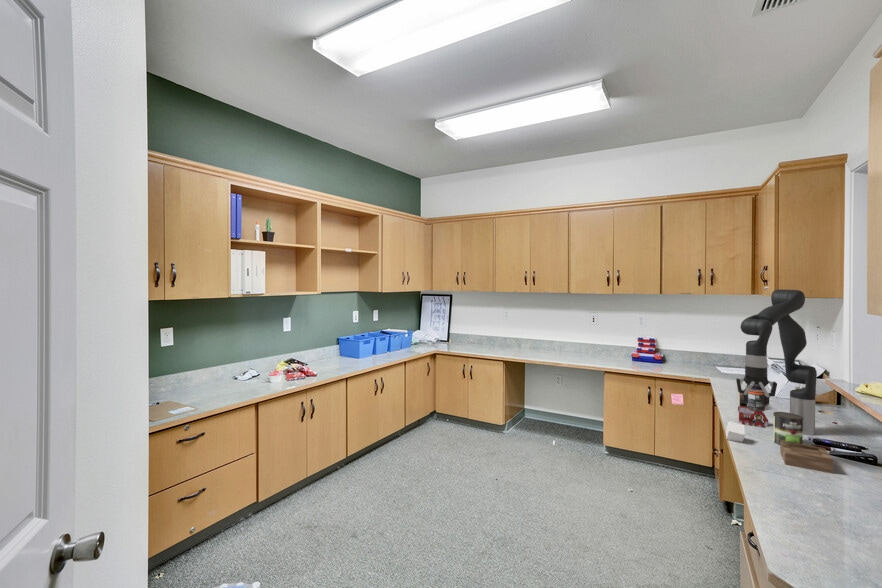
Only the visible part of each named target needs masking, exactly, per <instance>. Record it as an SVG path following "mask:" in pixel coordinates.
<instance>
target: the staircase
mask: <svg viewBox="0 0 882 588" xmlns="http://www.w3.org/2000/svg"><path fill="white" fill-rule="evenodd" d="M741 389H742V390H744V389H745V388H744V389H743V388H741ZM736 405H737V408H738V407H739V406H741V405H746V406H747V403H745V402H744V400H743V394H742V393H739V392H738V388H736Z"/></svg>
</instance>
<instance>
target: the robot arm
mask: <svg viewBox="0 0 882 588" xmlns="http://www.w3.org/2000/svg"><path fill="white" fill-rule="evenodd" d="M770 297H771V299H770V300H771V305H770V306H767V307H765V308H764V309H762V310H761V311H760V312H758V313H757V314H753V315H751V316H748V317H746V318H744V319H743V320H742V321H741V324H740V331H741V332H742V333H744V335H748V336H758V337H757V339H756V340H755V339H754V340H747V342H746V343H745V359H744V361H745V362H744V377H743V378H738V377H737V378H735V381H736V386H737V388H736V389H738V392H739V393H742V394H743V400H744V402H745V403H747V404H748V395H747V393H748V391H749V390H750V389H751V388H752V386H753V385H754V384H755V385H760V387H761V389H762V390H763V392H764V394H765V407H767V406H768V405H770V398H771V397H775V396H776V392H777V387H778V386H777V385H778V383H777V382H776V381H775V380H774V381H771V380H769V379H768V367H769V364H768V357H767V356H768V353H767V351H768V344H769V340H770V336H771V334H772V331H773V326H774V325H775V324H776V323H777V326H778V331H779V332H778V334H779V337H780V338H779V339H780V342H781V343H780V344H781V347H782V352H783V357H784V368H785V375H786V379H787V381H789V382H790V383H795V384H800V385H805V387H803V388H798V389H792V390H790V392H789V413H792V414H796V415H799V416H802V417H803V436H814V435H816V395H817V393H816V392H817V390H816V389H817V377H818V376H817V375H818V373H817V369H816V367H814V366H812V365H804V364H797V363H796V362H795V360H796V359H797V357H798V356H799V355H800V354H801V353H802V352H803V350H804V349H805V348H806V346H807V342H808V341H807V336H806V332H805V330H804V328H803V327H802V326H801V325H800V324H799V323H798V322H797V321H796V320H795V319H793V317H792V316H791V314H792V313H795V312H797V311H798V310H801V309H802V308H803V307H804V305H805V303H806V295H805V293H804V292H803V291H801V290H798V289H783V288H782V289H779V288H778V289H774V290H773V291H772V293H771V296H770ZM743 382H745V384H746V386H745V388H744V390H742V389H743V388H742V384H743ZM768 385H769V386H770V387H771V388H770V392H768V390H767V389H766V387H767V386H768Z"/></svg>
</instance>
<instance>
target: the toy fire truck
mask: <svg viewBox="0 0 882 588" xmlns="http://www.w3.org/2000/svg"><path fill="white" fill-rule="evenodd" d="M737 412H738V422H739V424H742V425H744V426H750V427H752V425H753V426H754V427H757V428H763V429H764V428H765V427H769V420H768V418H767V416H766V414H765V413H764V411H763V412H757V411H752V410H749V409H748V408H747V406H742V405H740V406H739V407H738V406H737Z"/></svg>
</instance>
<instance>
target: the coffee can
mask: <svg viewBox="0 0 882 588" xmlns="http://www.w3.org/2000/svg"><path fill="white" fill-rule="evenodd" d="M772 415H773V430H772V431H773V437H772V439H773V443H775V444H776V445H778V446H780V441H786V442H792V443H797V444H803V445H804V443H803V441H804V440H803V437H804V435H803V417H802V416H799V415H796V414H792V413H790V412H785V411H774V412H773V414H772Z"/></svg>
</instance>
